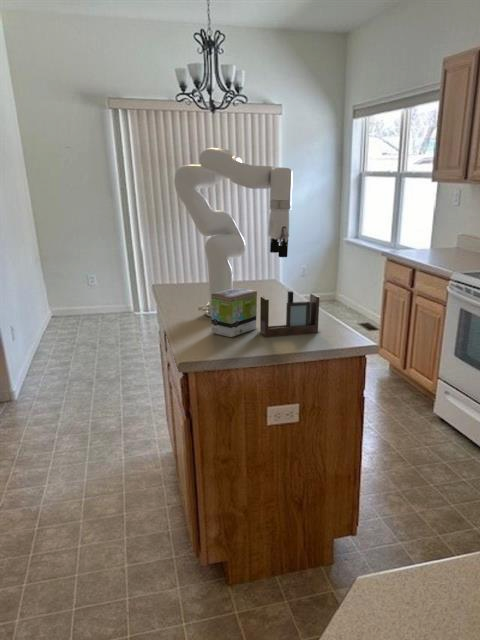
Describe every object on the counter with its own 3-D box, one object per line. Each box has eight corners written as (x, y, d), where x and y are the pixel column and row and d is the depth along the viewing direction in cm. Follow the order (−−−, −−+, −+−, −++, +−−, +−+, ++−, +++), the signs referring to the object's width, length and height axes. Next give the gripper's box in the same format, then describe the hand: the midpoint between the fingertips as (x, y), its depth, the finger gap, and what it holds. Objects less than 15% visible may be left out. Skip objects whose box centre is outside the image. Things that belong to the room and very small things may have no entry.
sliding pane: (287, 330, 194) (288, 292, 189) (285, 329, 196) (286, 291, 191) (309, 328, 197) (311, 291, 192) (307, 327, 199) (309, 290, 194)
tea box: (233, 338, 189) (232, 297, 184) (211, 333, 194) (209, 293, 188) (257, 328, 201) (257, 289, 196) (236, 324, 206) (235, 286, 200)
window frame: (265, 336, 192) (265, 299, 187) (260, 332, 197) (260, 296, 192) (317, 332, 198) (319, 296, 193) (311, 328, 204) (313, 293, 199)
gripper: (263, 203, 193) (261, 250, 200) (277, 207, 178) (276, 259, 185) (282, 203, 196) (280, 250, 202) (298, 207, 181) (296, 258, 188)
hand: (278, 254), depth 194 cm, fingers open, 9 cm apart
